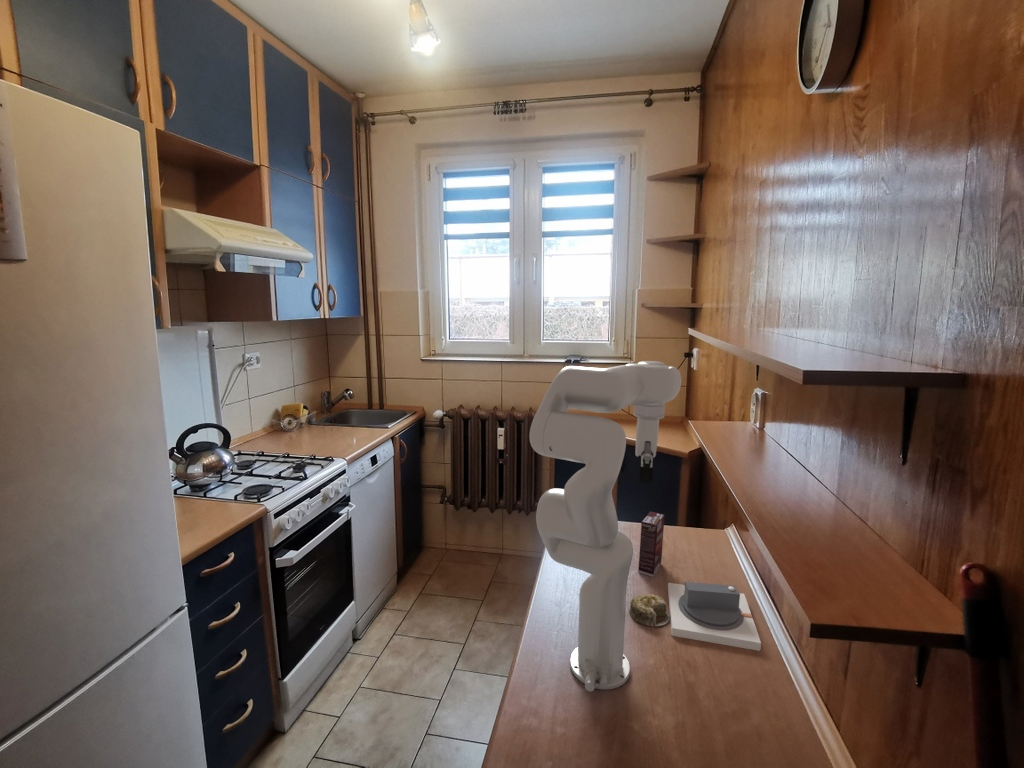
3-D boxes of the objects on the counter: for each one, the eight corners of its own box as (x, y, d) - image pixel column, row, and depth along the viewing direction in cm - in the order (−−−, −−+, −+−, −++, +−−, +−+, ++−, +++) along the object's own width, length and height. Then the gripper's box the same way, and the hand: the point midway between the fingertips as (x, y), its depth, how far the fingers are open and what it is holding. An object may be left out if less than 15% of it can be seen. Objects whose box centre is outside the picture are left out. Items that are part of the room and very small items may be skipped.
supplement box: (654, 578, 136) (657, 525, 133) (637, 573, 139) (640, 521, 136) (662, 564, 143) (665, 514, 141) (646, 559, 146) (648, 510, 143)
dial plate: (760, 651, 108) (761, 641, 107) (671, 635, 113) (672, 626, 112) (743, 600, 126) (744, 592, 126) (667, 589, 131) (668, 581, 130)
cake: (622, 620, 119) (621, 600, 119) (637, 600, 127) (637, 581, 127) (662, 633, 113) (661, 612, 113) (675, 612, 121) (675, 592, 121)
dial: (688, 623, 113) (690, 600, 112) (677, 591, 126) (679, 569, 125) (746, 628, 112) (749, 605, 111) (729, 595, 124) (731, 573, 123)
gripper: (634, 402, 130) (631, 462, 133) (633, 417, 113) (629, 485, 116) (663, 404, 128) (659, 465, 131) (666, 419, 112) (662, 489, 114)
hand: (645, 474), depth 124 cm, fingers open, 9 cm apart
